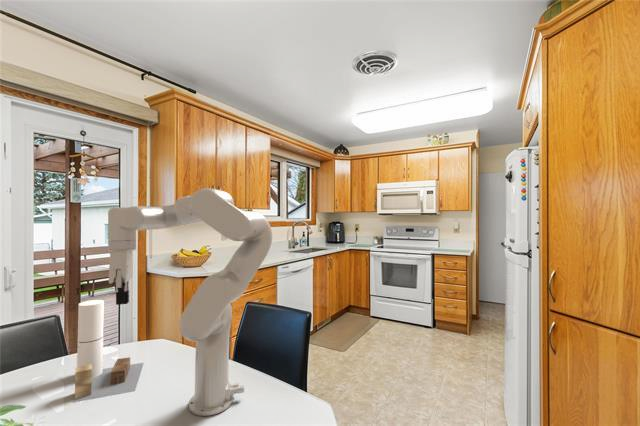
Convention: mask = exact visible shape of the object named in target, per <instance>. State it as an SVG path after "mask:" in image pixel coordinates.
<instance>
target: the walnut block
mask: <svg viewBox="0 0 640 426" xmlns="http://www.w3.org/2000/svg"><path fill="white" fill-rule="evenodd" d="M130 365H131V357H130V356H129V357H122V358H117V359H116V361H115V363H114V364H113V369H112V371H111V378H110V385H111V384H117V383H123V382H125V380H126V377H127V375H128V372H129V370H130Z"/></svg>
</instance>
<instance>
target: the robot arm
mask: <svg viewBox="0 0 640 426" xmlns="http://www.w3.org/2000/svg"><path fill="white" fill-rule="evenodd" d="M107 220H108V221H107V252H110V255H109V265H108V283H109V284H110V285H112V284H114V283H115V304H116V306H118V305H119V306H121V305H127V304H129V302H130V290H129V289H130V288H129V286H130V285H129V282H130V280H131V279H132V278H133V273H134V272H133V271H134V267H133V266H134V265H133V264H134V261H133V259H134V258H133V256H134V255H133V251H136V250H137V231H147V230H148V231H149V230H151V231H152V230H162V229H167V228H174V227H178V226H179V227H180V226H185V225H189V224H190V225H191V224H195V223H200V222H203V223H205V224H206V225H208V226H209V227H210V228H212V229H213V230H215V231H216V232H217V233H219V234H221V235H222V236H223V237H225V238H226V239H228V240H230V241H234V242H242V243H241V245H239V247H238V248H237V249H236V251H234V253H233V255H232V257H231V258H230V260H229V261H228V263H227V264H226V265H225V267H224V268H223V269H221V270H219V271H217V272H214V273H212V274H211V275H208V276H207V277H206V278H204V280H203V281H202V282H201V283H200V285H199V286H198V288H197V289H196V291H195V292H194V294H193V296H192V297H191V299H190V301H188V303H187V305H186V307H185V308H184V310H183V311H182V313H181V315H180V319H179V332H180V334H181V336H182V337H183V338H184V339H185V340H187V341H188V342H195V358H194V359H195V360H194V362H195V365H194V395H193V396H192V397H190V400H189V402H188V409H189V411H190V412H191V413H192V414H194V415H196V416H199V417H204V416H205V417H206V416H208V417H209V416H213V415H217V414H220V413H222V412H224V411H225V410H227V409H228V408H229V407H230V406H231V405H232V404H233V401H234V395H236V394H237V395H238V394H243V393H245V386H244V385H239V382H236V383H234V384H233V383H232V384H231V383H230V381H229V366H230V365H229V361H230V335H231V326H232V320H233V307H232V303H233V302H235V301H237V300H238V299H241V297H242V296H243V294H244V293H245V292H246V290H247V288H248V287H249V285H250V284H251V281H252V280H253V278H254V277H255V276H256V274H257V273H258V270H259V268H260V266H261V265H262V263H263V262H264V260H265V258H266V257H267V256H268V254H269V252H270V249H271V246H272V242H273V231H272V227H271V224H270V222H269V220H268V219H267V218H266V216H264V215H263V214H262V213H259V212H258V211H252V210H242V209H240V208H238V207H236V206H235V201H234V199H233V197H232V195H231V194H230V193H228V192H226V191H224V190H222V189H221V190H220V189H216V188H211V187H209V188H208V187H204V188H203V187H202V188H201V189H198V190H197V191H195V192H194V193H193V194H191V195H185V196H180V197H179V198H177V200H176V201H175V202H174V203H173V204H169V205H163V206H150V205H149V206H147V205H145V206H144V205H135V206H128V207H125V206H124V207H123V206H122V207H117V206H116V207H111V208H109V210H108V212H107Z"/></svg>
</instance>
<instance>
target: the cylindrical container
mask: <svg viewBox="0 0 640 426" xmlns="http://www.w3.org/2000/svg"><path fill="white" fill-rule="evenodd" d="M77 311H78V315H77V316H78V317H77V349H76V350H77V352H76V353H77V355H76V367H80V366H84V365H88V364H92V378H95V377H97V376H99V375H100V374H102V370H103V369H104V367H103V363H104V361H103V359H104V322H105V321H104V317H105V316H104V315H105V301H104V300H103V299H93V300H92V299H91V300H90V299H89V300H86V301H82V302H79V303H78V309H77Z"/></svg>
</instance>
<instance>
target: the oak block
mask: <svg viewBox="0 0 640 426" xmlns="http://www.w3.org/2000/svg"><path fill="white" fill-rule="evenodd" d="M74 369H75V371H74V372H75V375H74V376H75V379H74V399H78V398H82V397H85V396H89V395H91V386H92V364H88V365H84V366H80V367H77V366H76V367H75V368H74Z"/></svg>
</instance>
